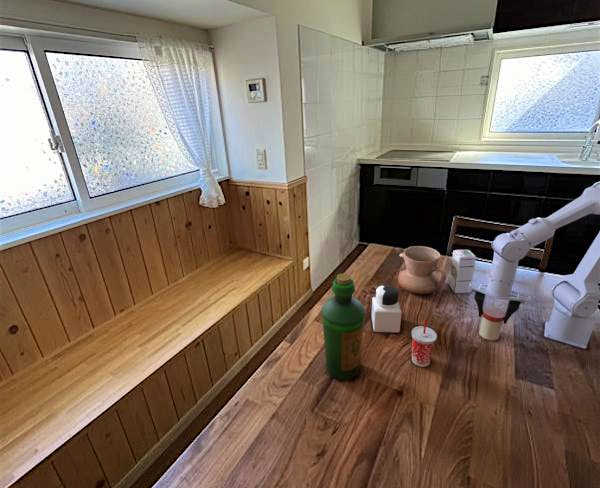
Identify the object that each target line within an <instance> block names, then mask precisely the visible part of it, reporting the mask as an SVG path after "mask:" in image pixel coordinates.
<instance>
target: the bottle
mask: <svg viewBox="0 0 600 488" xmlns="http://www.w3.org/2000/svg"><path fill="white" fill-rule="evenodd" d="M335 277H336V278H335V279H334V280H333V282H332V285H331V292H332V294H334V295H333V296H330V297H328V299H327V300H326V301H325V302H324V304H323V306H322V307H321V319H322V328H323V339H324V350H325V363H326V369H327V372H328V374H330V376H332V378H335V379H338V380H342V381H345V380H351V379H353V378H355V377H356V376H357V375H358V373H359V370H360V368H361V367H360V365H361V356H362V349H363V339H364V331H365V330H364V329H365V321H366V308H365V306H364V304H363V303H362V302H361V300H359V299H358V298H356V297H355V296H353V295H354V294H355V292H356V288H355V282H354V281H353V279H352V277H351V275H350V274H348V273H339V274H338V273H337V275H336V276H335Z"/></svg>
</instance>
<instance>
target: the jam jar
mask: <svg viewBox="0 0 600 488" xmlns="http://www.w3.org/2000/svg"><path fill="white" fill-rule="evenodd" d="M503 324H504V323H503V321H502V322H492V321H489V320H487V319H485V318H484V317H483V316H481V319H480V325H479V328H478V329H479V330H478V334H479V336H480V337H482V338H483V339H485V340H487V341H497V340H499V338H500V335H501V331H502V326H503Z"/></svg>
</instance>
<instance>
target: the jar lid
mask: <svg viewBox="0 0 600 488" xmlns="http://www.w3.org/2000/svg"><path fill="white" fill-rule="evenodd" d="M505 313H506V311H504V310H503V308H500V307H498V306H494V305H485V306H483V309H482V316H483V317H484V318H485V319H487V320H489V321H492V322H502V321H504V318H505V315H506V314H505ZM482 316H481V317H482Z"/></svg>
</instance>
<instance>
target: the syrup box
mask: <svg viewBox="0 0 600 488" xmlns="http://www.w3.org/2000/svg"><path fill="white" fill-rule="evenodd" d="M476 259H477V256H476V255H475V254H474V253H473V252H472V250H470V249H455V250H454V249H453V251H452V258H451V264H450V271H449V279H448V280H449V281H448V287H449V288H450V289H451V290H452V292H453V293H454V294H471V292H468V290H469V285H470V283H473V279H474V272H475V266H476V261H477V260H476Z"/></svg>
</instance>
